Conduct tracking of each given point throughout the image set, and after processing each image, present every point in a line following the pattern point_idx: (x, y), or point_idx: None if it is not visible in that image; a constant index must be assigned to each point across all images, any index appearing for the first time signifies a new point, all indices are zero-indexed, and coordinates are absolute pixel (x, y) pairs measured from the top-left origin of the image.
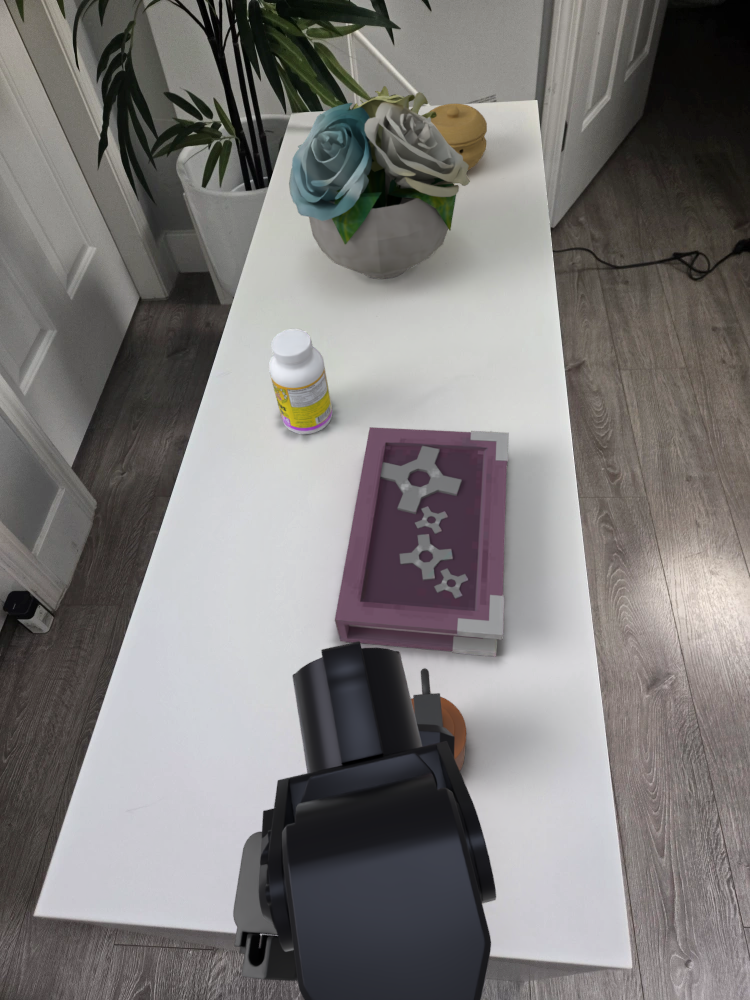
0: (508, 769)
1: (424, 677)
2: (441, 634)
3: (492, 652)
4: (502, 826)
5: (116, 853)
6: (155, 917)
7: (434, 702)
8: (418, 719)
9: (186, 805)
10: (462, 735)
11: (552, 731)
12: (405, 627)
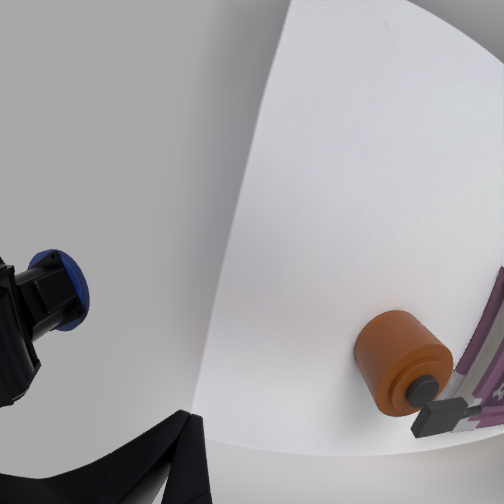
0: (346, 405)
1: (475, 413)
2: (471, 365)
3: None
4: (300, 394)
5: (347, 8)
6: (283, 31)
7: (448, 427)
8: (443, 413)
9: (390, 70)
10: (395, 413)
11: (360, 434)
12: (500, 350)
